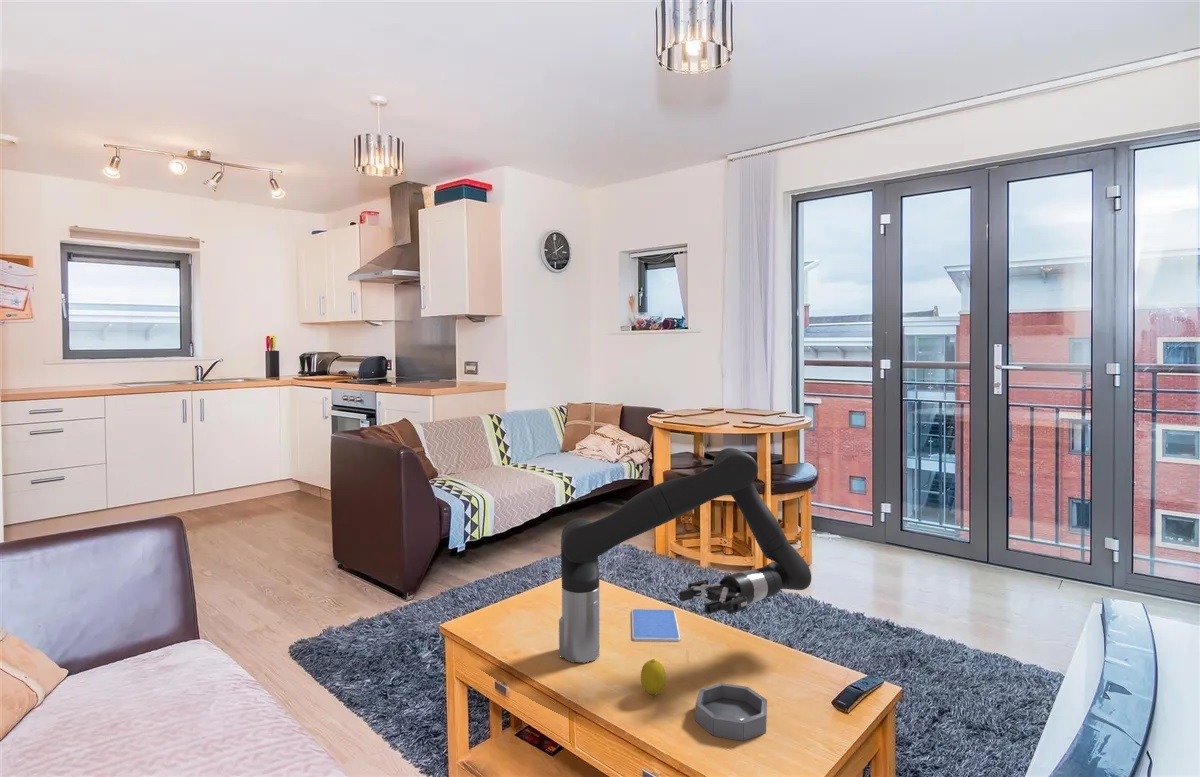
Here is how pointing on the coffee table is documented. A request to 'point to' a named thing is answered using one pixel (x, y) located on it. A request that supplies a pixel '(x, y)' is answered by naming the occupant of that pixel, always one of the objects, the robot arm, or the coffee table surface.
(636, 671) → the coffee table surface
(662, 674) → the lemon
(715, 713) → the bowl
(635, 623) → the tablet computer
